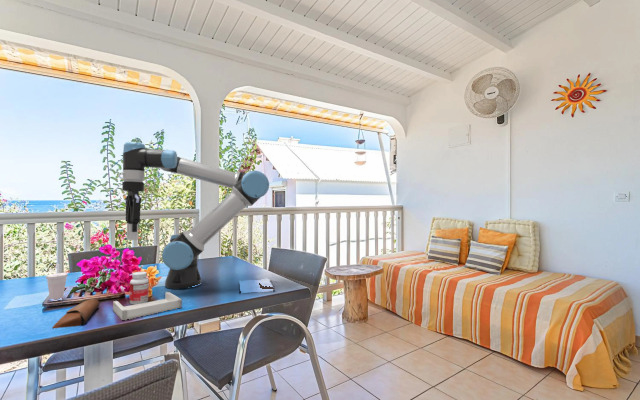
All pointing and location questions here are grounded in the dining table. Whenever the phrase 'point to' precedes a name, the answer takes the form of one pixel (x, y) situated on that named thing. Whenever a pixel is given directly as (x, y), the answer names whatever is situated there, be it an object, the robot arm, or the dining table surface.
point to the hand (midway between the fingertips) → (132, 239)
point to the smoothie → (56, 284)
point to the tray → (147, 307)
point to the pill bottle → (139, 288)
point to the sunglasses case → (78, 314)
